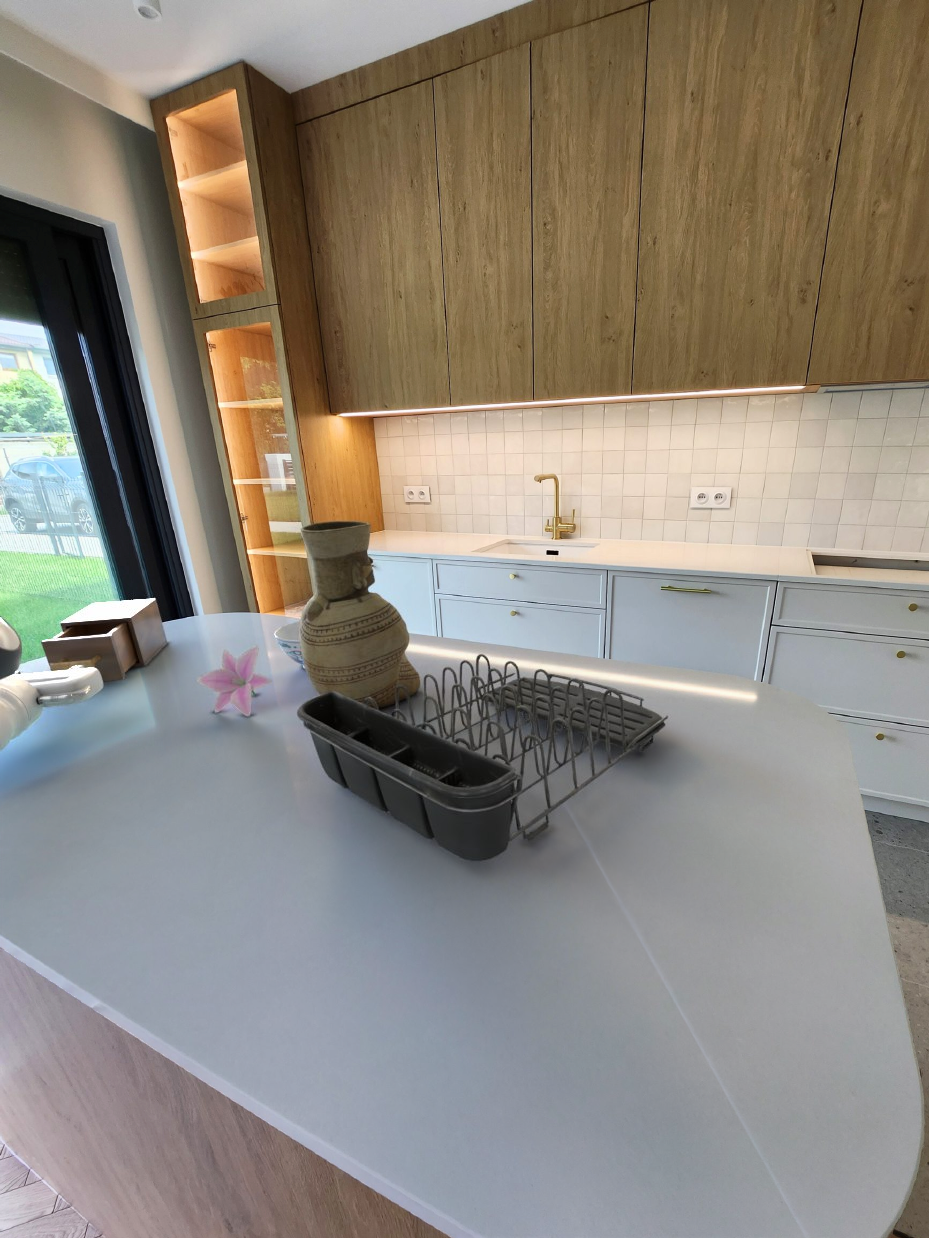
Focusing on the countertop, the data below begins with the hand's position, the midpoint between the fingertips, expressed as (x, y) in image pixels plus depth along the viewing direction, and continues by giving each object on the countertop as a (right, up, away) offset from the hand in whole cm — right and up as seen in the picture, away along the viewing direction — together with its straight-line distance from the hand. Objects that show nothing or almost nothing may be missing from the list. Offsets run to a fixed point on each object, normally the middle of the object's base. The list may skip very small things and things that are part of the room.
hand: (48, 672), depth 99 cm
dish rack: (+78, -13, -17) cm, 81 cm away
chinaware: (+39, +2, +20) cm, 44 cm away
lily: (+32, -6, +3) cm, 32 cm away
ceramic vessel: (+53, -5, +4) cm, 53 cm away
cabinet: (-6, +4, +28) cm, 29 cm away
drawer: (-3, 0, +16) cm, 17 cm away
